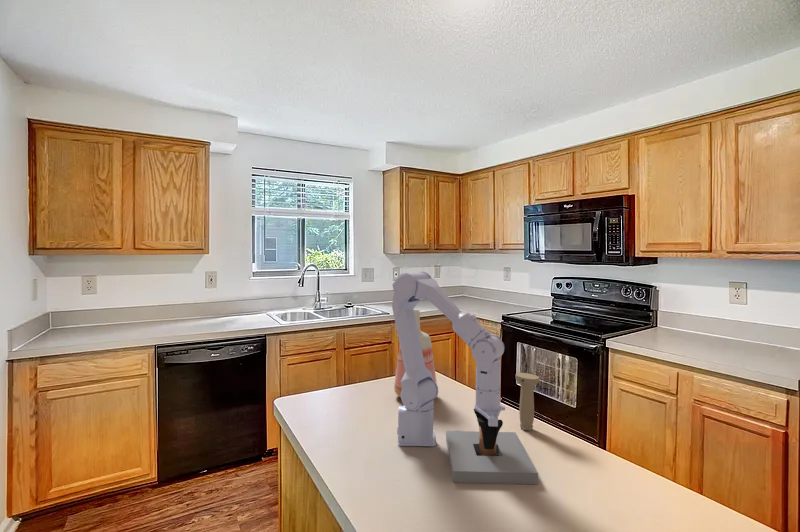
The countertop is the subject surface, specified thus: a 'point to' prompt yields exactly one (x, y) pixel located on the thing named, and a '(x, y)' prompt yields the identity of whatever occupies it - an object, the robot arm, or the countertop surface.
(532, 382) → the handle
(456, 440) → the socket plate
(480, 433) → the peg
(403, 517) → the countertop surface
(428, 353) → the vase
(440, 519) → the countertop surface
